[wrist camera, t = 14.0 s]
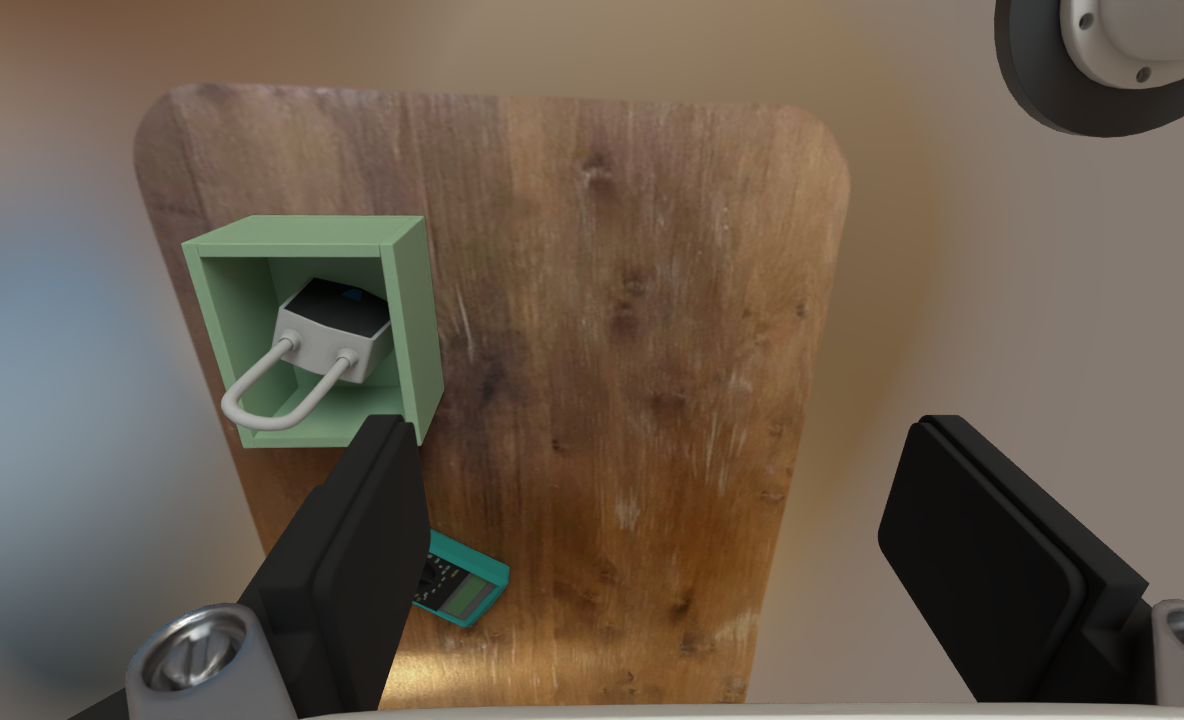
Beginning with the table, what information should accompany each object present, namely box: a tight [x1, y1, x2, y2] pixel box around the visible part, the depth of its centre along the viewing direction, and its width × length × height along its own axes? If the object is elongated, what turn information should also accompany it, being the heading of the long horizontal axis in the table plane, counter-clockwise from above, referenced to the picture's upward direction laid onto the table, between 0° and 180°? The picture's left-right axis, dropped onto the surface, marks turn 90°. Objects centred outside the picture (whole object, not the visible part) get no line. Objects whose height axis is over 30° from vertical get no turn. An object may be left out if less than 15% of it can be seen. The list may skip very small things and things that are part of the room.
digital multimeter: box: [412, 528, 510, 628], centre depth 51 cm, size 7×15×3 cm, turn 53°
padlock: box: [221, 276, 394, 431], centre depth 34 cm, size 7×4×15 cm, turn 67°
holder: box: [181, 215, 444, 448], centre depth 38 cm, size 12×14×8 cm
